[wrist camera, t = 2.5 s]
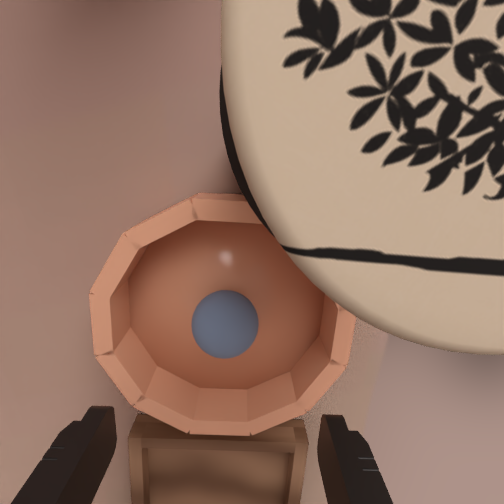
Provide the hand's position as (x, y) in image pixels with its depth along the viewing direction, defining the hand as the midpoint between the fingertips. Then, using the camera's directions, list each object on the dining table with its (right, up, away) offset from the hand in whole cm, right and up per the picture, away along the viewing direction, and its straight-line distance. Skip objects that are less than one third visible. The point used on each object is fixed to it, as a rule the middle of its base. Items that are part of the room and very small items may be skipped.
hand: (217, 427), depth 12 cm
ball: (0, +2, +9) cm, 9 cm away
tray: (-2, -14, +16) cm, 22 cm away
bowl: (0, +3, +11) cm, 12 cm away
